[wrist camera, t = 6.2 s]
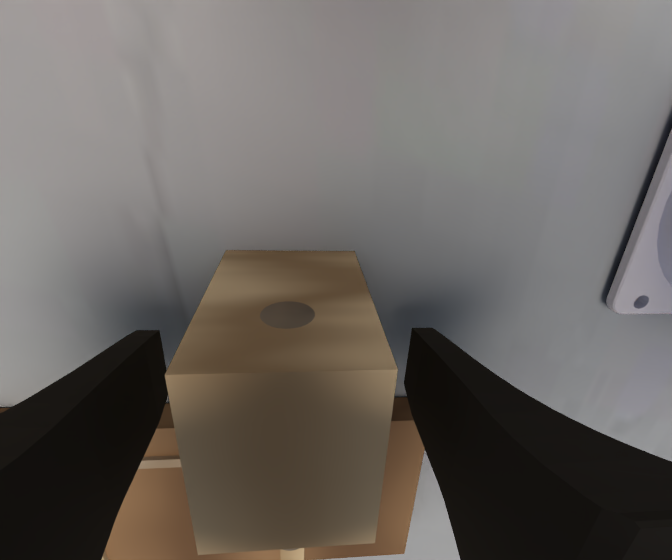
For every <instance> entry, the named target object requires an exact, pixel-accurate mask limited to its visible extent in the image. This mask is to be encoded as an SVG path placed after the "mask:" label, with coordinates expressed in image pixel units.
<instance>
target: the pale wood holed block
mask: <svg viewBox="0 0 672 560" xmlns="http://www.w3.org/2000/svg"><path fill="white" fill-rule="evenodd" d="M397 372H398V368H397V366H396V363H395V360H394V358H393V355H392V352H391V349H390V347H389V344H388V341H387V339H386V336H385V333H384V330H383V328H382V325H381V322H380V320H379V317H378V314H377V311H376V309H375V306H374V303H373V300H372V298H371V295H370V292H369V290H368V287H367V284H366V281H365V279H364V276H363V273H362V271H361V268H360V265H359V262H358V260H357V257H356V254H355V252H354V251H263V250H226V251H225V253H224V255H223V257H222V259H221V262H220V264H219V266H218V268H217V270H216V272H215V274H214V276H213V278H212V280H211V282H210V284H209V286H208V288H207V290H206V292H205V294H204V296H203V298H202V300H201V302H200V304H199V306H198V308H197V310H196V312H195V314H194V316H193V318H192V320H191V322H190V324H189V326H188V329H187V331H186V333H185V335H184V337H183V339H182V341H181V343H180V345H179V347H178V349H177V351H176V353H175V355H174V357H173V359H172V361H171V363H170V365H169V367H168V369H167V371H166V373H165V380H166V385H167V390H168V396H169V401H170V407H171V412H172V417H173V423H174V428H175V434H176V439H177V444H178V450H179V455H180V461H181V466H182V471H183V477H184V482H185V488H186V493H187V498H188V504H189V509H190V515H191V520H192V525H193V531H194V536H195V542H196V547H197V552H198V555H206V554H221V553H236V552H251V551H266V550H281V549H282V550H286V551H293V550H297V549H299V548H310V547H325V546H340V545H355V544H370V543H375V539H376V531H377V523H378V516H379V508H380V501H381V493H382V486H383V478H384V470H385V463H386V455H387V448H388V440H389V433H390V425H391V418H392V410H393V402H394V395H395V387H396V380H397Z"/></svg>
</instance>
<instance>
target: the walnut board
mask: <svg viewBox="0 0 672 560" xmlns="http://www.w3.org/2000/svg"><path fill="white" fill-rule="evenodd" d="M8 409H9V408H0V413H2V412H4V411H6V410H8ZM424 449H425V448H424V446H423V443H422V440H421V438H420V435H419V433H418V430H417V427H416V425H415V422H414V419H413V417H412V414H411V410H410V406H409V403H408V399H407V397H396V398H394V402H393V410H392V418H391V425H390V433H389V440H388V448H387V455H386V463H385V470H384V478H383V486H382V493H381V501H380V508H379V516H378V523H377V531H376V539H375V543H370V544H355V545H340V546H325V547H310V548H299V549H297V550H293V551H286V550H282V549H281V550H266V551H251V552H236V553H221V554H206V555H198V552H197V547H196V542H195V536H194V531H193V525H192V520H191V515H190V509H189V504H188V498H187V493H186V488H185V482H184V477H183V471H182V466H181V461H180V455H179V450H178V444H177V439H176V434H175V428H174V423H173V417H172V412H171V407H170V403H169V404H165V406H164V409H163V413H162V416H161V419H160V422H159V424H158V426H157V429H156V431H155V433H154V435H153V437H152V440H151V442H150V444H149V446H148V448H147V451H146V453H145V455H144V457H143V459H142V461H141V464H140V466H139V468H138V470H137V472H136V474H135V476H134V479H133V481H132V483H131V485H130V487H129V489H128V492H127V494H126V496H125V498H124V500H123V503H122V505H121V507H120V510H119V512H118V515H117V517H116V520H115V522H114V525H113V528H112V531H111V534H110V537H109V539H108V542H107V545H106V548H105V551H104V554H103V557H102V559H101V560H316V559H331V558H347V557H362V556H377V555H392V554H404V552H405V547H406V542H407V537H408V532H409V527H410V521H411V516H412V511H413V506H414V501H415V496H416V490H417V485H418V480H419V475H420V470H421V465H422V459H423V454H424Z"/></svg>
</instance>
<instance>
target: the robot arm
mask: <svg viewBox="0 0 672 560" xmlns="http://www.w3.org/2000/svg"><path fill="white" fill-rule="evenodd" d="M638 297H639V298H638ZM637 298H638V299H637ZM636 299H637V300H636ZM635 300H636V301H635ZM606 303H607V306H608V307H609V308H610V309H612V310H613V311H615V312H616V313H619V314H672V129H671V132H670V134H669V137H668V140H667V142H666V145H665V147H664V150H663V153H662V155H661V158H660V160H659V163H658V166H657V168H656V171H655V174H654V176H653V179H652V181H651V184H650V187H649V189H648V192H647V194H646V197H645V200H644V202H643V205H642V207H641V210H640V213H639V215H638V218H637V221H636V223H635V226H634V228H633V231H632V234H631V236H630V239H629V241H628V244H627V247H626V249H625V252H624V255H623V257H622V260H621V262H620V265H619V268H618V270H617V273H616V275H615V278H614V281H613V283H612V286H611V288H610V291H609V294H608V296H607V301H606ZM165 373H166V365H165V360H164V354H163V348H162V343H161V337H160V332H159V330H137V331H135V332H133V333H131V334H129V335H128V336H126V337H124V338H123V339H121V340H120V341H118V342H117V343H115V344H114V345H112V346H111V347H109V348H108V349H106V350H105V351H103V352H102V353H100V354H98V355H97V356H95V357H94V358H92V359H91V360H89V361H88V362H86V363H85V364H83V365H82V366H80V367H79V368H77V369H76V370H74V371H72V372H71V373H69V374H68V375H66V376H64V377H63V378H61V379H59V380H58V381H56V382H54V383H53V384H51V385H49V386H48V387H46V388H44V389H43V390H41V391H39V392H38V393H36V394H34V395H33V396H31V397H29V398H28V399H26V400H24V401H22V402H20V403H19V404H17V405H15V406H13V407H11V408H9V409H8V410H6V411H4V412H2V413H0V560H101V559H102V557H103V554H104V551H105V548H106V545H107V542H108V539H109V537H110V534H111V531H112V528H113V525H114V522H115V520H116V517H117V515H118V512H119V510H120V507H121V505H122V503H123V500H124V498H125V496H126V494H127V492H128V489H129V487H130V485H131V483H132V481H133V479H134V476H135V474H136V472H137V470H138V468H139V466H140V464H141V461H142V459H143V457H144V455H145V453H146V451H147V448H148V446H149V444H150V442H151V440H152V437H153V435H154V433H155V431H156V429H157V426H158V424H159V422H160V419H161V416H162V413H163V409H164V406H165V403H166V399H167V396H168V390H167V385H166V380H165ZM404 385H405V390H406V394H407V399H408V403H409V406H410V410H411V414H412V417H413V419H414V422H415V425H416V427H417V430H418V433H419V435H420V438H421V440H422V443H423V446H424V448H425V451H426V453H427V456H428V458H429V461H430V463H431V466H432V468H433V471H434V474H435V476H436V479H437V481H438V484H439V487H440V490H441V492H442V495H443V498H444V501H445V505H446V508H447V512H448V515H449V519H450V522H451V526H452V529H453V533H454V537H455V540H456V544H457V548H458V552H459V555H460V559H461V560H672V462H671V461H668V460H665V459H663V458H660V457H657V456H655V455H652V454H650V453H647V452H645V451H642V450H640V449H637V448H635V447H632V446H630V445H628V444H625V443H623V442H620V441H618V440H616V439H613V438H611V437H609V436H606V435H604V434H602V433H600V432H598V431H595V430H593V429H591V428H589V427H587V426H585V425H583V424H581V423H579V422H577V421H575V420H573V419H570V418H568V417H567V416H565V415H563V414H561V413H559V412H557V411H555V410H553V409H551V408H550V407H548V406H546V405H544V404H543V403H541V402H539V401H537V400H535V399H534V398H532V397H530V396H528V395H527V394H525V393H524V392H522V391H520V390H519V389H517V388H515V387H514V386H512V385H511V384H509V383H508V382H506V381H505V380H503V379H502V378H500V377H499V376H497V375H496V374H494V373H493V372H492V371H490V370H489V369H487V368H486V367H484V366H483V365H482V364H480V363H479V362H478V361H476V360H475V359H474V358H472V357H471V356H470V355H468V354H467V353H466V352H464V351H463V350H462V349H460V348H459V347H458V346H456V345H455V344H454V343H452V342H451V341H450V340H449V339H447V338H446V337H445V336H443V335H442V334H441V333H439V332H438V331H436V330H435V329H433V328H412V332H411V339H410V346H409V353H408V359H407V366H406V373H405V380H404Z"/></svg>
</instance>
